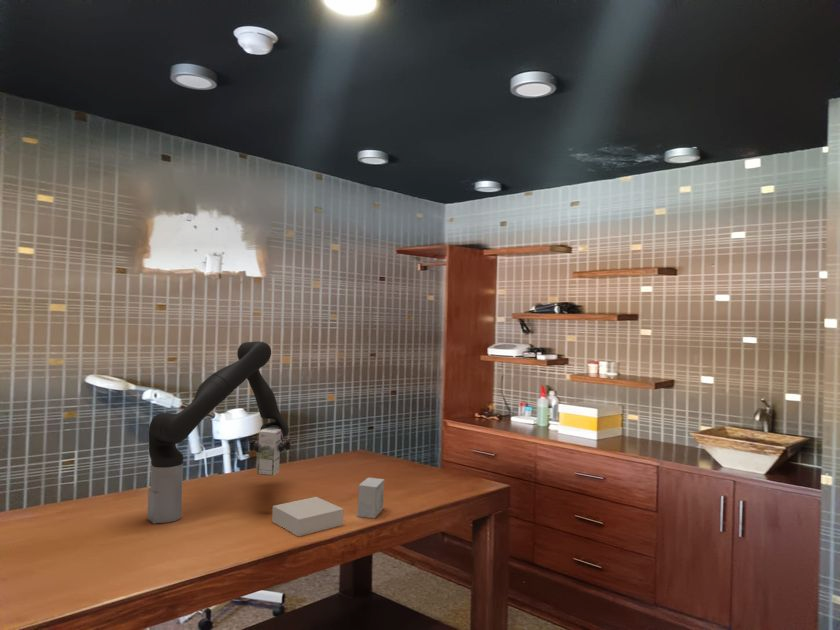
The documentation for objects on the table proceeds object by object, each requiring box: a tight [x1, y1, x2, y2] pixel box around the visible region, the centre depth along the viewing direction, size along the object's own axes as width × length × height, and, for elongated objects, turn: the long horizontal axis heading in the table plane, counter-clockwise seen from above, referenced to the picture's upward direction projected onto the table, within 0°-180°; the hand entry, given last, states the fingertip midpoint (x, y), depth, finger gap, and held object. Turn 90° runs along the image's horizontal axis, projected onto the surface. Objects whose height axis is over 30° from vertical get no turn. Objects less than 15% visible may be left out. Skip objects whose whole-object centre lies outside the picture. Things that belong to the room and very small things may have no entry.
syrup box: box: [256, 429, 281, 476], centre depth 190 cm, size 6×6×14 cm
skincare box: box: [356, 477, 385, 519], centre depth 192 cm, size 10×6×10 cm, turn 168°
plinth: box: [271, 496, 344, 537], centre depth 180 cm, size 16×16×5 cm
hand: (268, 449), depth 187 cm, fingers closed on syrup box, 7 cm apart
